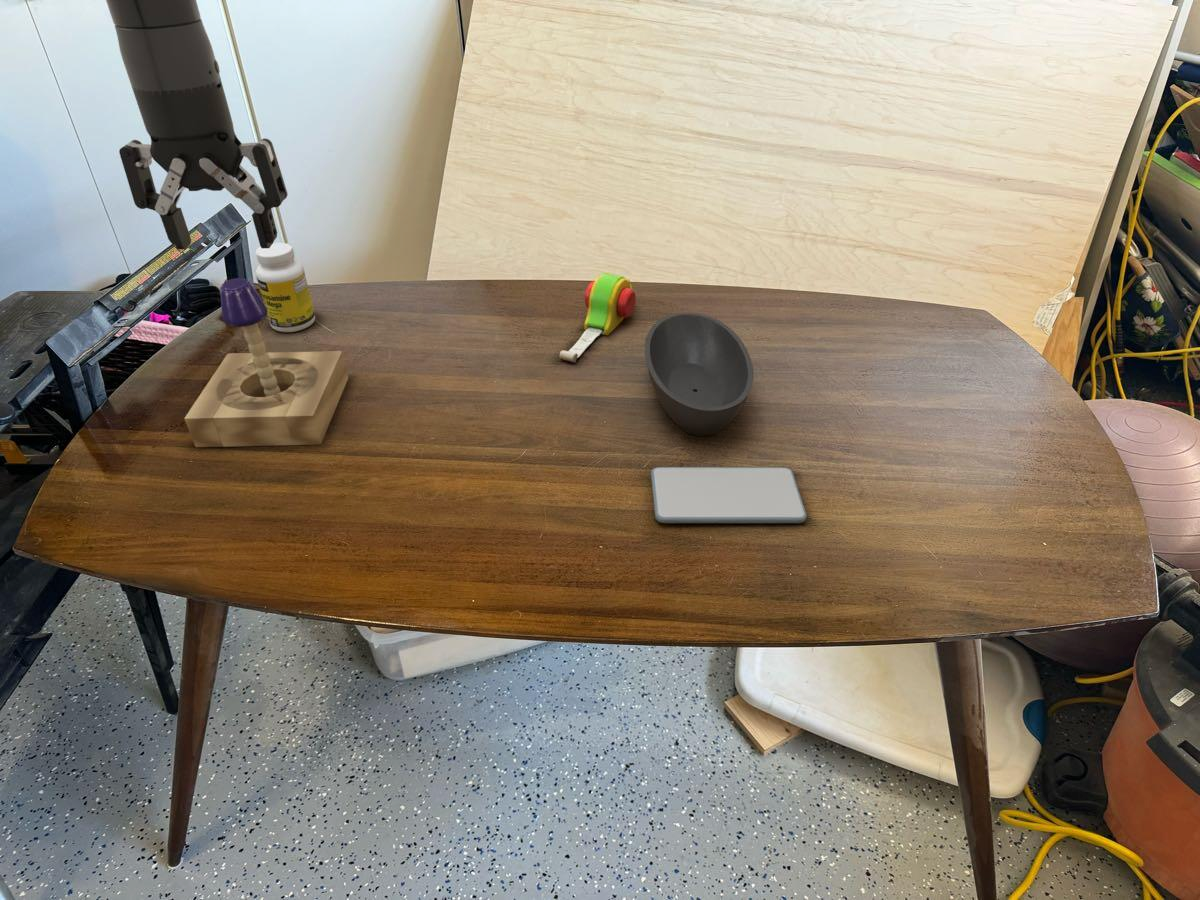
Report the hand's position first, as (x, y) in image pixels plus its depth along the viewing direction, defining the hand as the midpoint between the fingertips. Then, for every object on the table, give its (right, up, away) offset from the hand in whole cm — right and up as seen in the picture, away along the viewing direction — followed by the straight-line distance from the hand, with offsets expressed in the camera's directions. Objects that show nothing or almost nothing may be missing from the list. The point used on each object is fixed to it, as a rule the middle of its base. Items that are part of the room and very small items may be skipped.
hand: (226, 246), depth 82 cm
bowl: (+50, -15, +14) cm, 54 cm away
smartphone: (+52, -26, -1) cm, 58 cm away
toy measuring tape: (+38, -5, +28) cm, 48 cm away
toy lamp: (0, -17, +13) cm, 21 cm away
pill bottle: (-5, -3, +30) cm, 31 cm away
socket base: (0, -16, +12) cm, 21 cm away
